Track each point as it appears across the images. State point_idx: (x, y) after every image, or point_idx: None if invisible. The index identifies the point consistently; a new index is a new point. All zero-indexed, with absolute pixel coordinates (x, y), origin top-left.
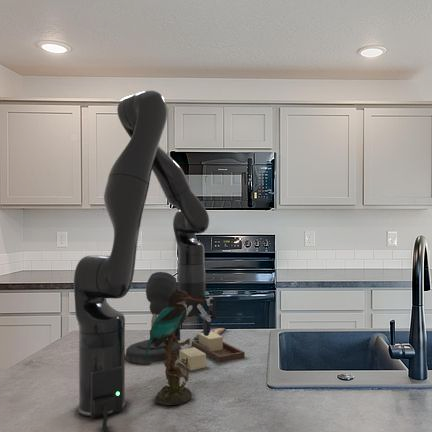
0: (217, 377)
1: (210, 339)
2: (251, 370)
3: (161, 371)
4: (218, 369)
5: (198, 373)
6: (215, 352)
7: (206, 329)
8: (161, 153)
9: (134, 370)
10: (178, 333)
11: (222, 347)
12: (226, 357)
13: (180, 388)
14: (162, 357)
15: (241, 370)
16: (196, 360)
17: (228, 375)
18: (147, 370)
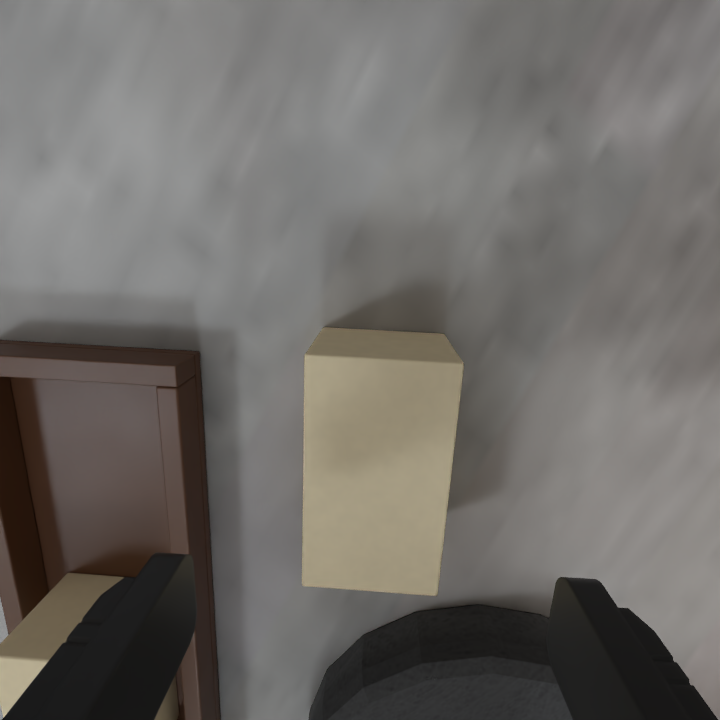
0: (341, 91)
1: None
2: (42, 60)
3: (588, 467)
4: (254, 255)
5: (414, 272)
6: (134, 551)
7: (146, 620)
8: None
9: (703, 582)
10: (640, 663)
11: (59, 583)
12: (122, 357)
13: None
14: (502, 634)
15: (113, 116)
16: (402, 348)
17: (249, 75)
18: (644, 536)
